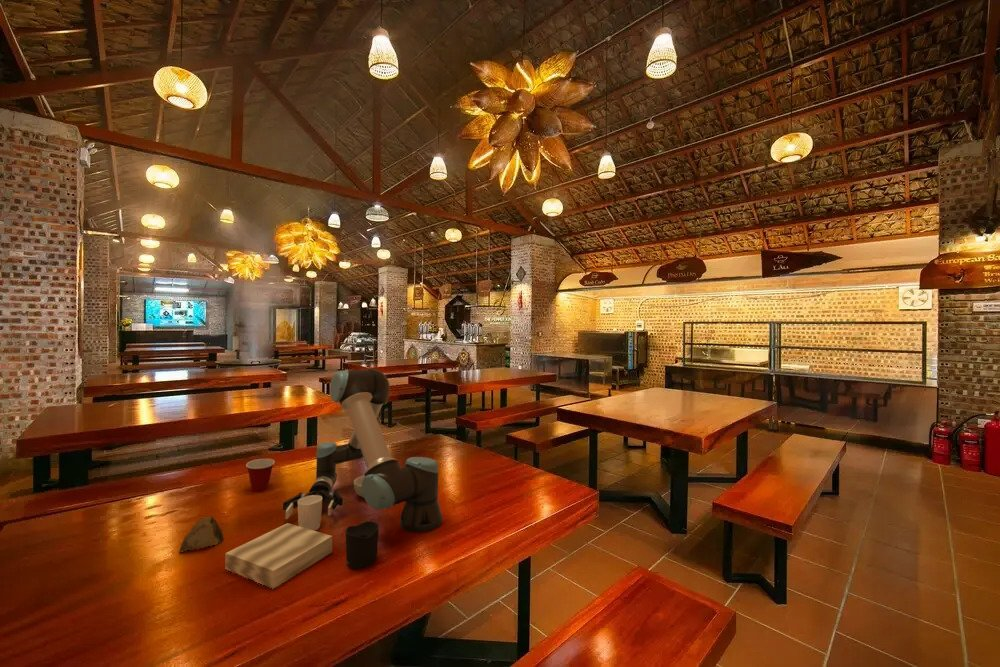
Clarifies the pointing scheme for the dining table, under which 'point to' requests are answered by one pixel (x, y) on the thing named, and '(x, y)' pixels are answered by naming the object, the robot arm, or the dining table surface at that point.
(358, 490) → the cereal bowl
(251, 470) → the plastic cup
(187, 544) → the rock
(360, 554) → the pen holder
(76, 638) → the dining table surface
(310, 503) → the white cup
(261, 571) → the birch plinth
